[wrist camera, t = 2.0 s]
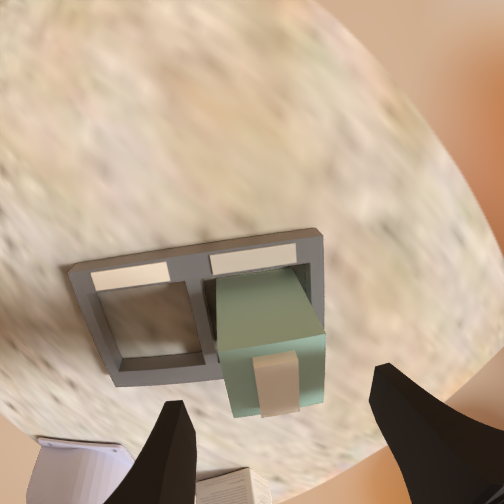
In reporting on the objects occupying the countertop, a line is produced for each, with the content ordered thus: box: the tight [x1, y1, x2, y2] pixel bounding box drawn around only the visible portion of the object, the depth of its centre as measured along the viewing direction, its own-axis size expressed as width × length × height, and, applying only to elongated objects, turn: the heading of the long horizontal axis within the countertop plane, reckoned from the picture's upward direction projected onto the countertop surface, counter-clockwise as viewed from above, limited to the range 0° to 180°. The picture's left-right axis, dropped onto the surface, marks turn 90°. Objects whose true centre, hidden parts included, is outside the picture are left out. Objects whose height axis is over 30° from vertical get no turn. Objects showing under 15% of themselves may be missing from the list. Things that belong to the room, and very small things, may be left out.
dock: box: [68, 228, 324, 387], centre depth 17 cm, size 13×8×1 cm, turn 96°
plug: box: [216, 267, 326, 418], centre depth 15 cm, size 4×4×7 cm
